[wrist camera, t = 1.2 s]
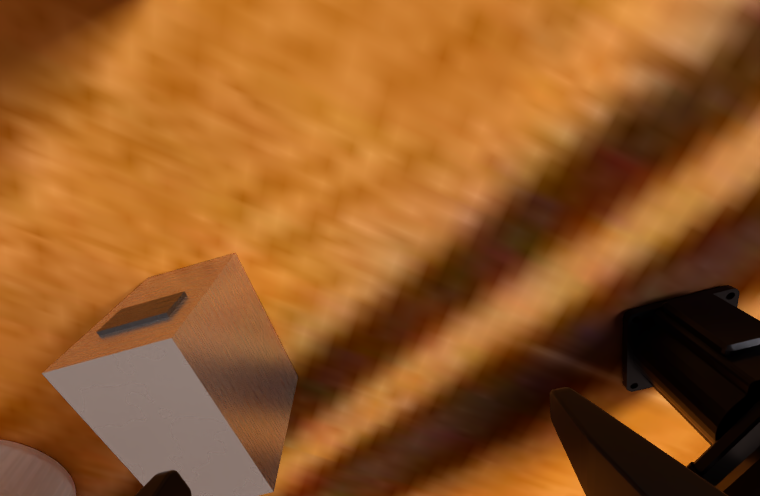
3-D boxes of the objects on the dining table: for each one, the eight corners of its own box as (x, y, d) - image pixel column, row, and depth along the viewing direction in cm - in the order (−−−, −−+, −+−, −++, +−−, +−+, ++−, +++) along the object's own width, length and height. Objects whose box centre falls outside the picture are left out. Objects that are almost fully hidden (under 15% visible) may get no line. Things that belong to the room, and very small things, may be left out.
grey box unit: (299, 380, 22) (276, 495, 16) (225, 399, 23) (174, 519, 16) (233, 249, 19) (168, 333, 12) (146, 274, 19) (38, 369, 13)
